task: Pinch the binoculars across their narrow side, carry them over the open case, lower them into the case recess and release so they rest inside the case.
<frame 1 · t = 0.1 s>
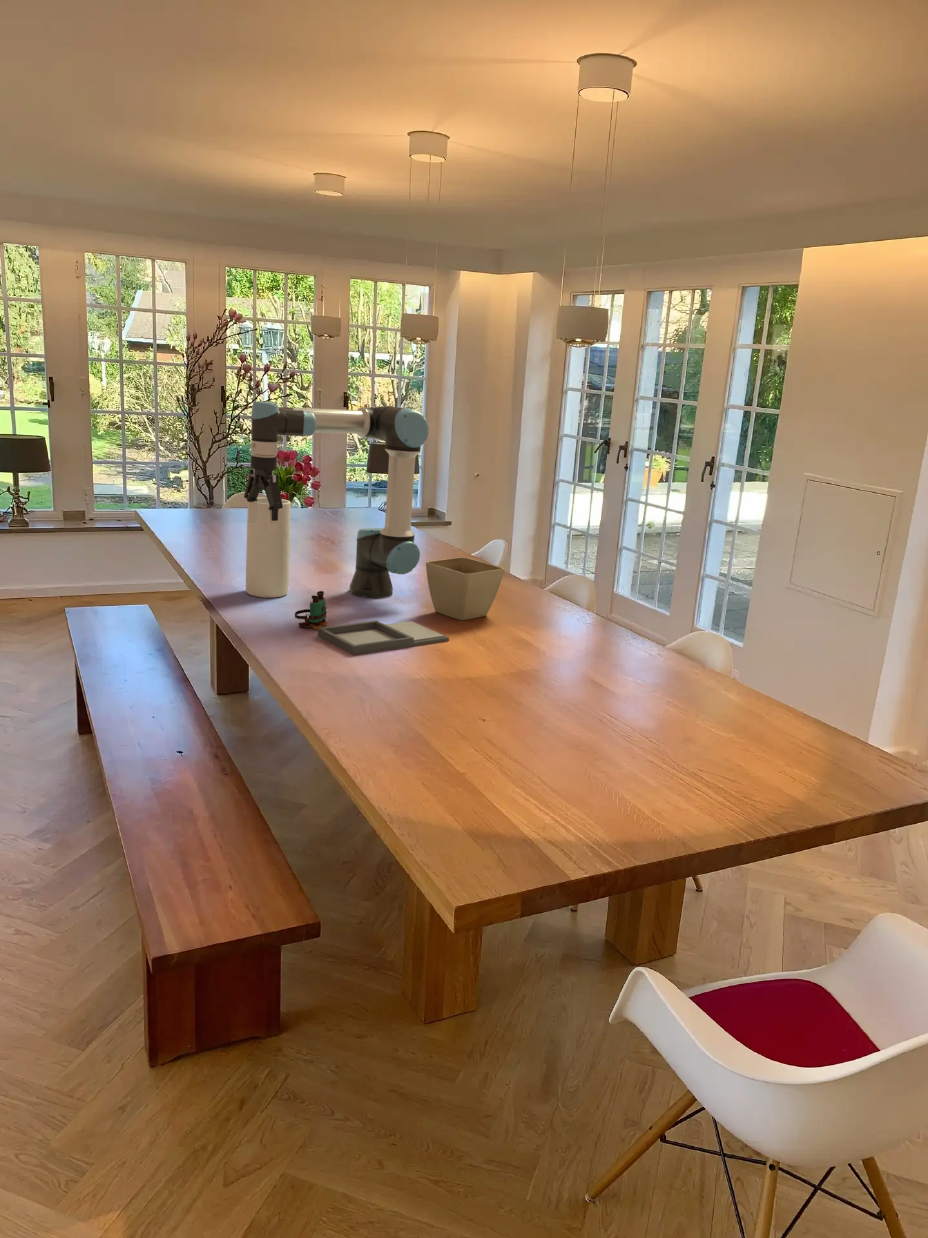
hand: (262, 527, 272), 28 cm above the table, fingers open, 13 cm apart
case: (365, 641, 264), on the table
binoculars: (310, 626, 274), on the table
flower pot: (461, 614, 302), on the table
vase: (267, 593, 307), on the table
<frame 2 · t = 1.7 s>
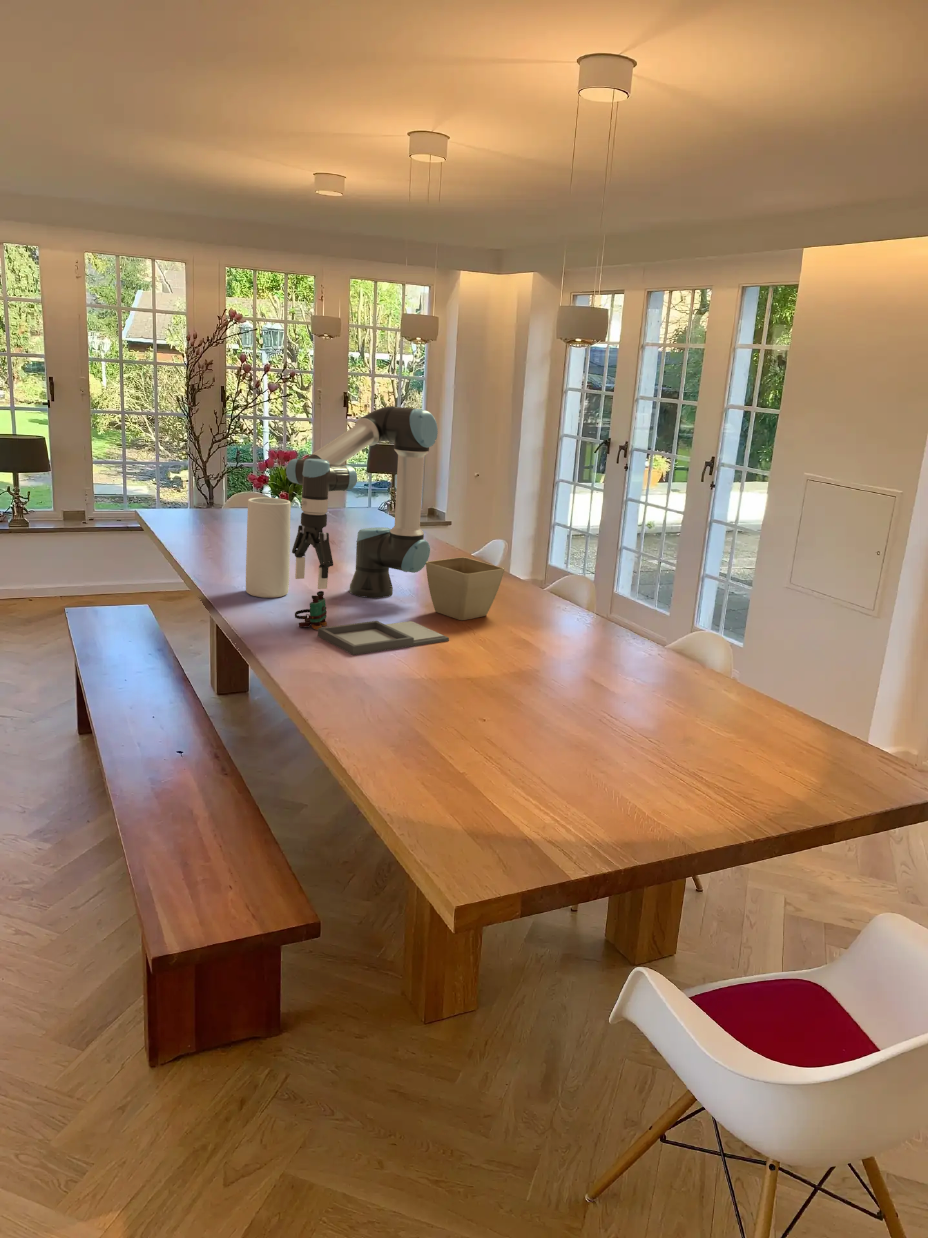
hand: (310, 583, 270), 13 cm above the table, fingers open, 13 cm apart
nothing on the table moved.
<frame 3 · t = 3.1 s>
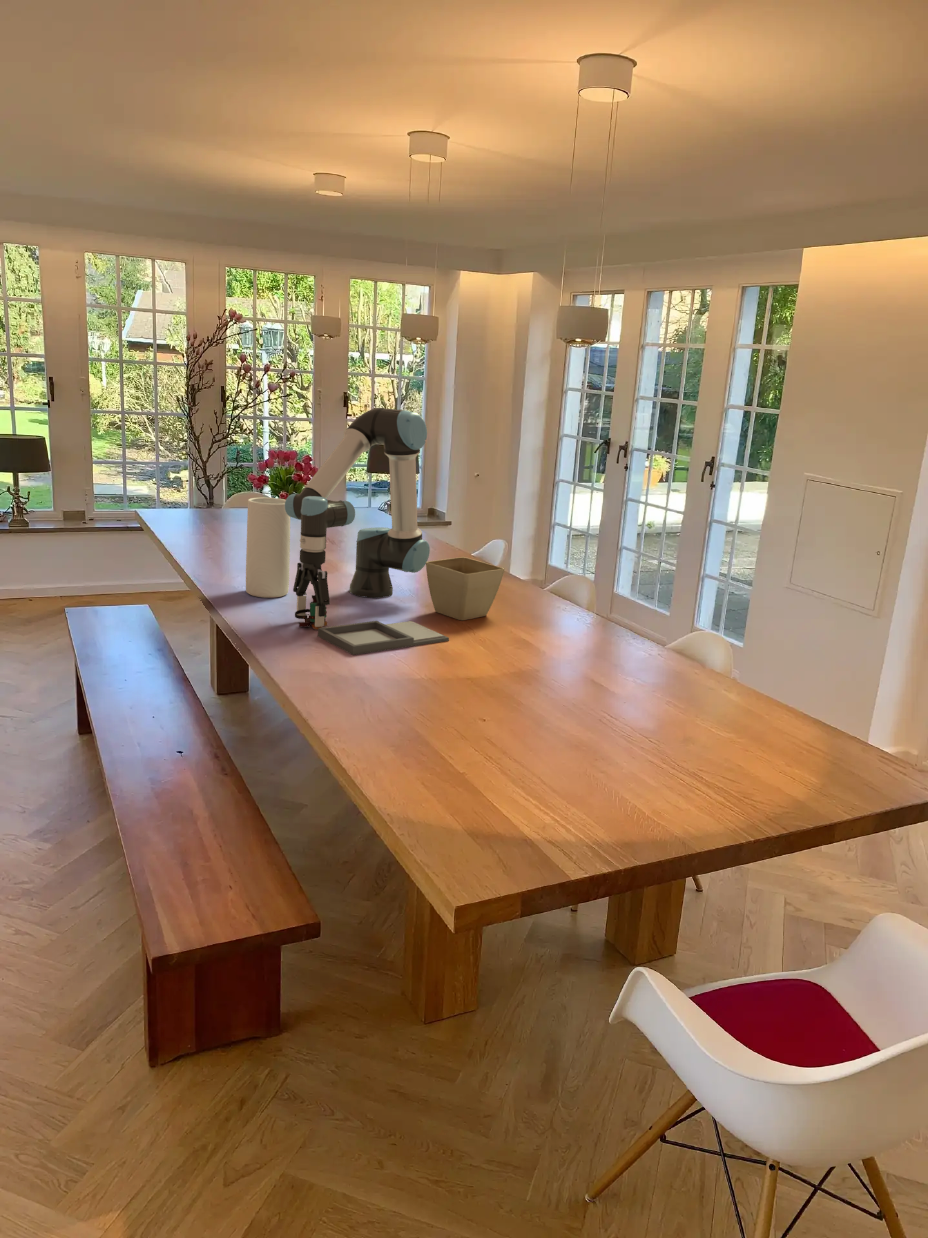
hand: (310, 621, 274), 1 cm above the table, fingers closed on binoculars, 10 cm apart
binoculars: (310, 626, 274), on the table, touching gripper
everything else where it was.
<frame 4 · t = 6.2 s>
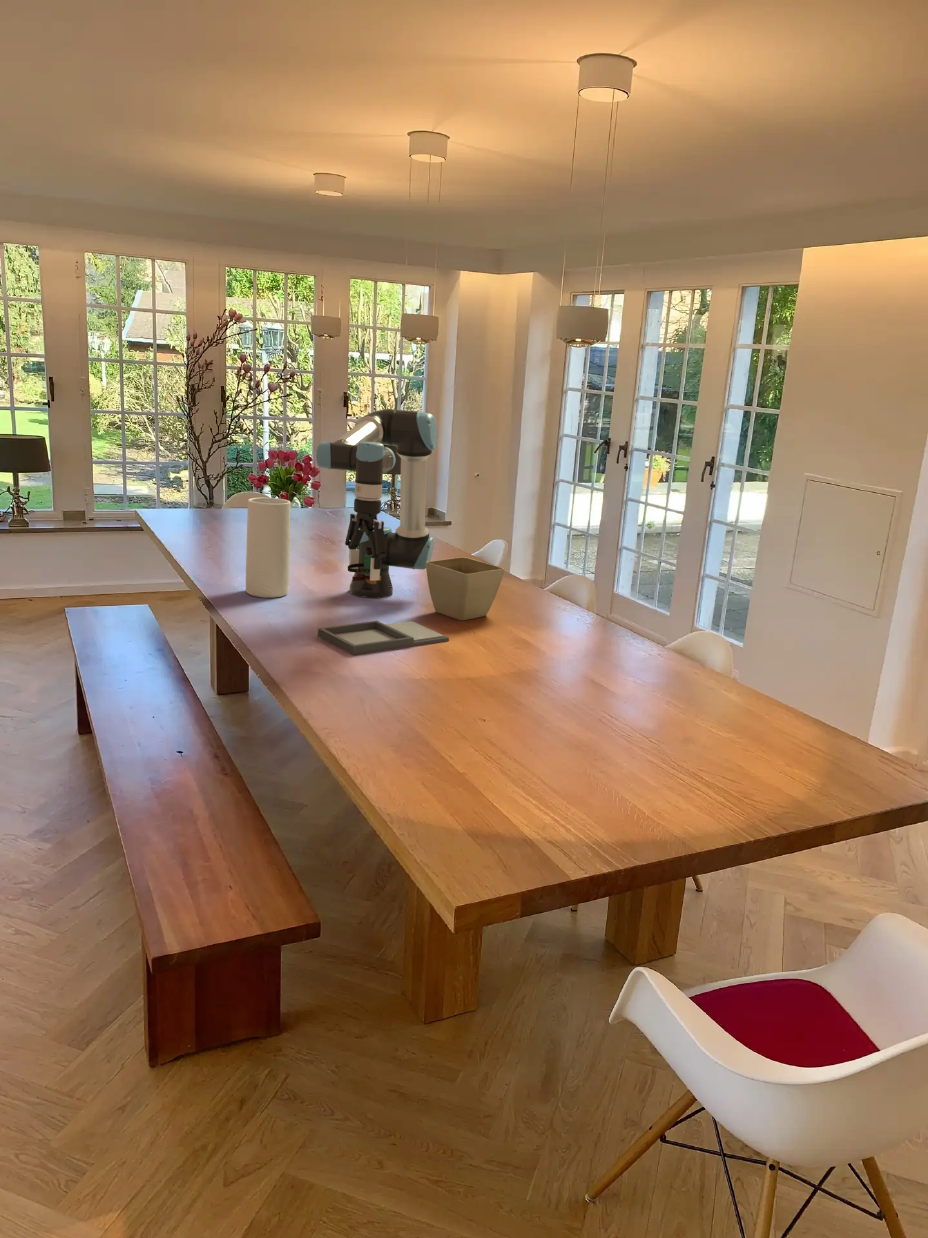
hand: (363, 575, 259), 19 cm above the table, fingers closed on binoculars, 10 cm apart
binoculars: (363, 581, 259), point 18 cm above the table, touching gripper
everything else where it was.
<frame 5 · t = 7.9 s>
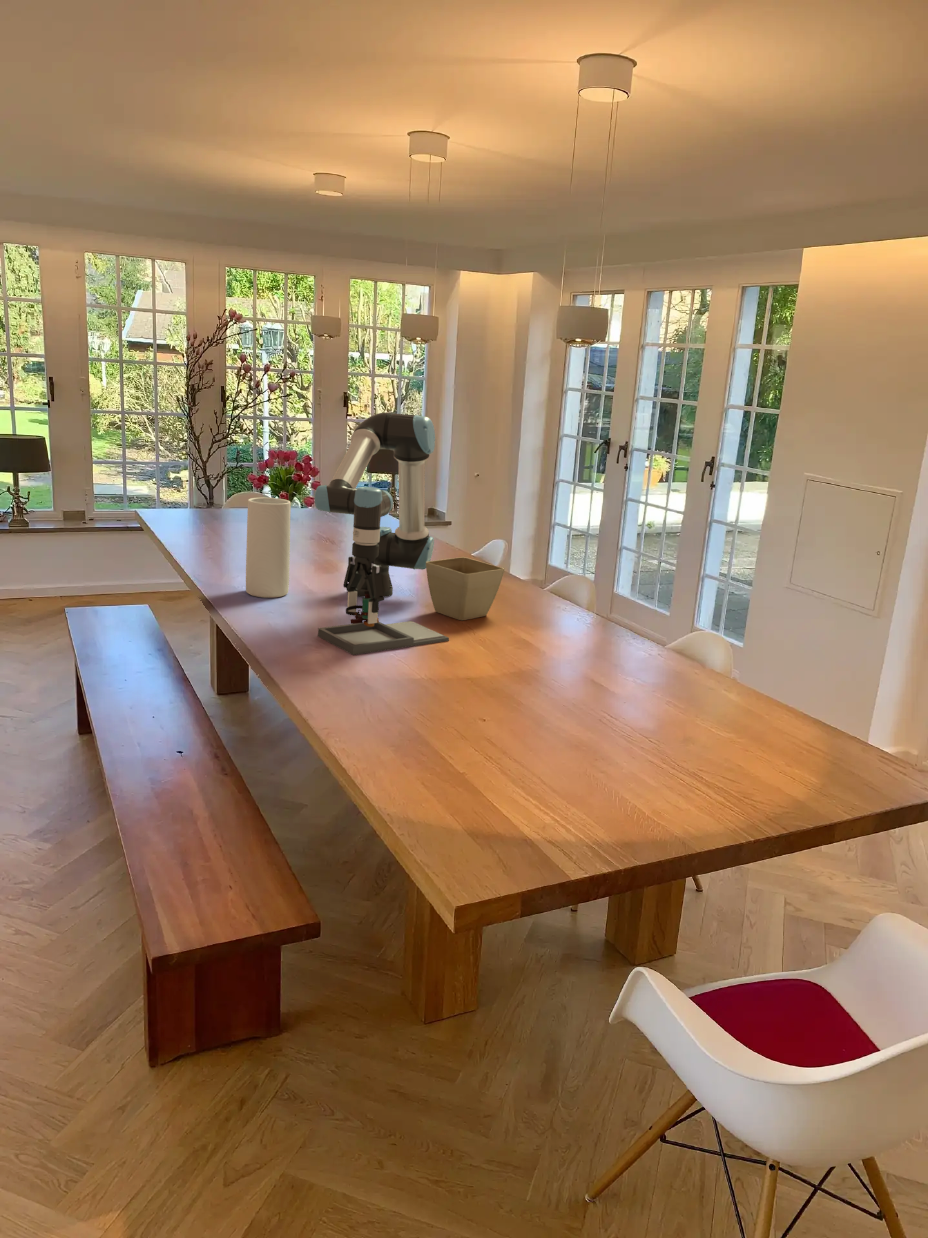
hand: (361, 618, 262), 7 cm above the table, fingers closed on binoculars, 10 cm apart
binoculars: (361, 623, 262), point 5 cm above the table, touching gripper
everything else where it was.
when the fingers open (2 cm above the table, at t = 9.3 s): binoculars stays where it is, resting on case.
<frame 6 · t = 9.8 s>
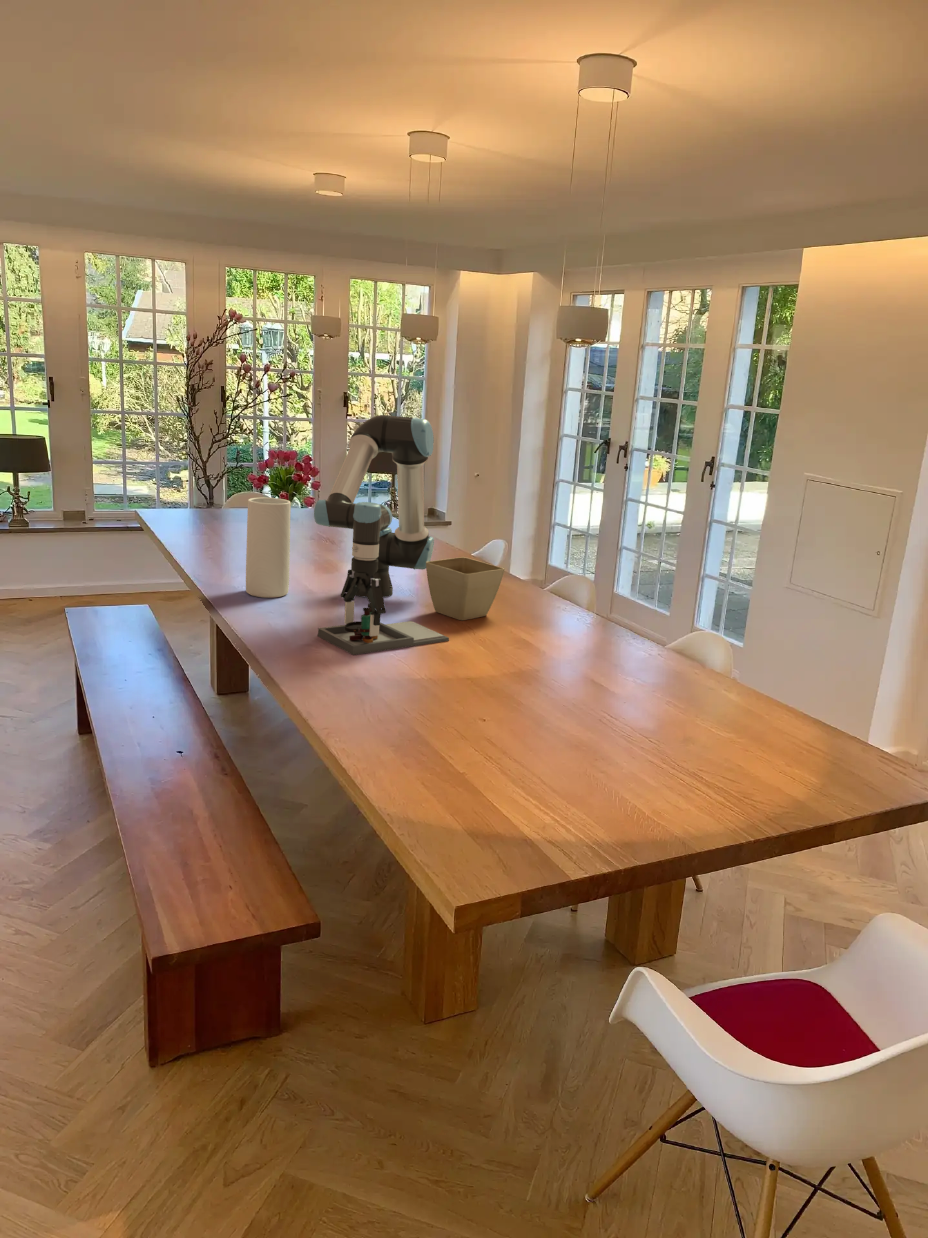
hand: (361, 629, 263), 3 cm above the table, fingers open, 13 cm apart
binoculars: (360, 640, 264), resting on case
everything else where it was.
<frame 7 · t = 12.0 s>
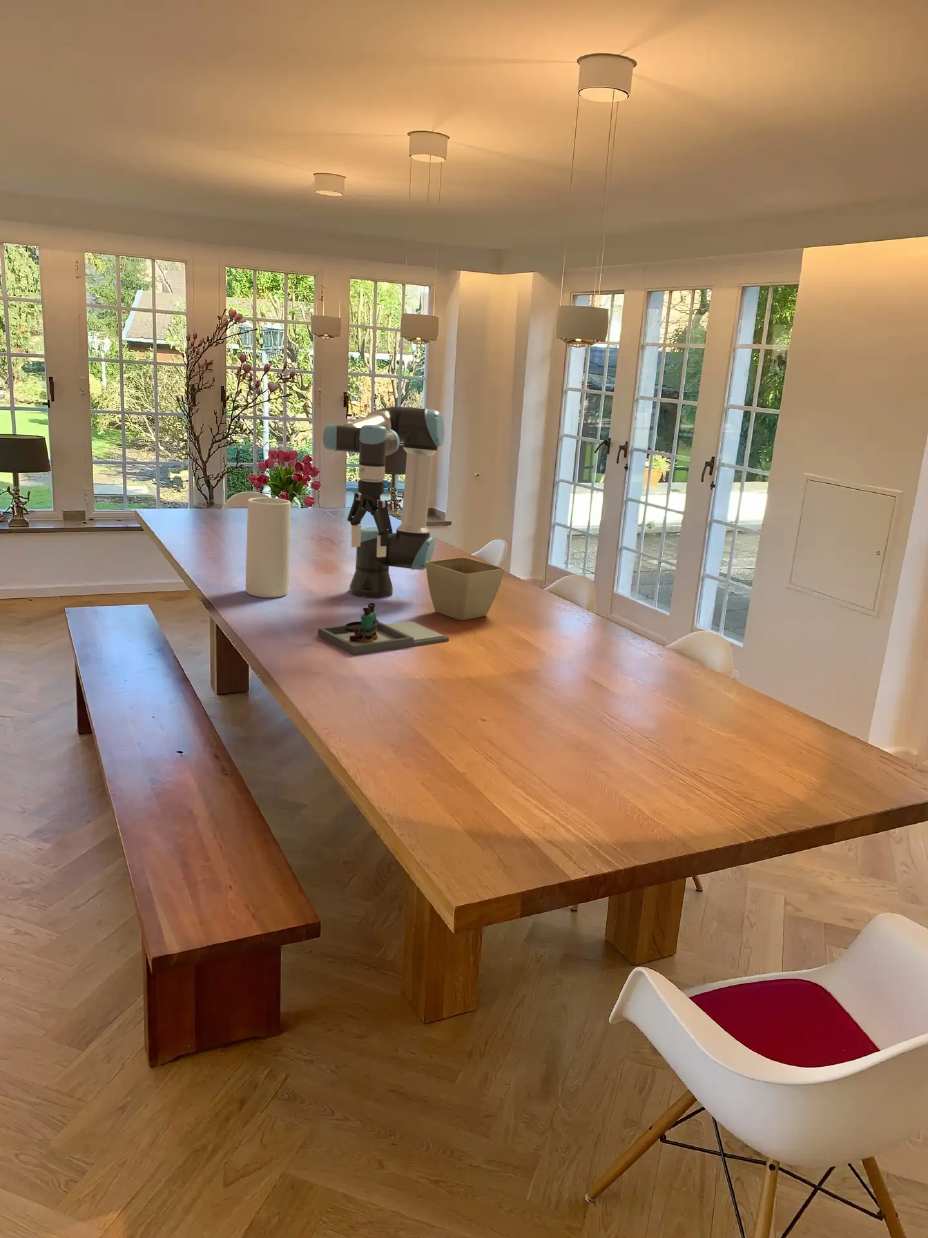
hand: (368, 551, 268), 24 cm above the table, fingers open, 13 cm apart
nothing on the table moved.
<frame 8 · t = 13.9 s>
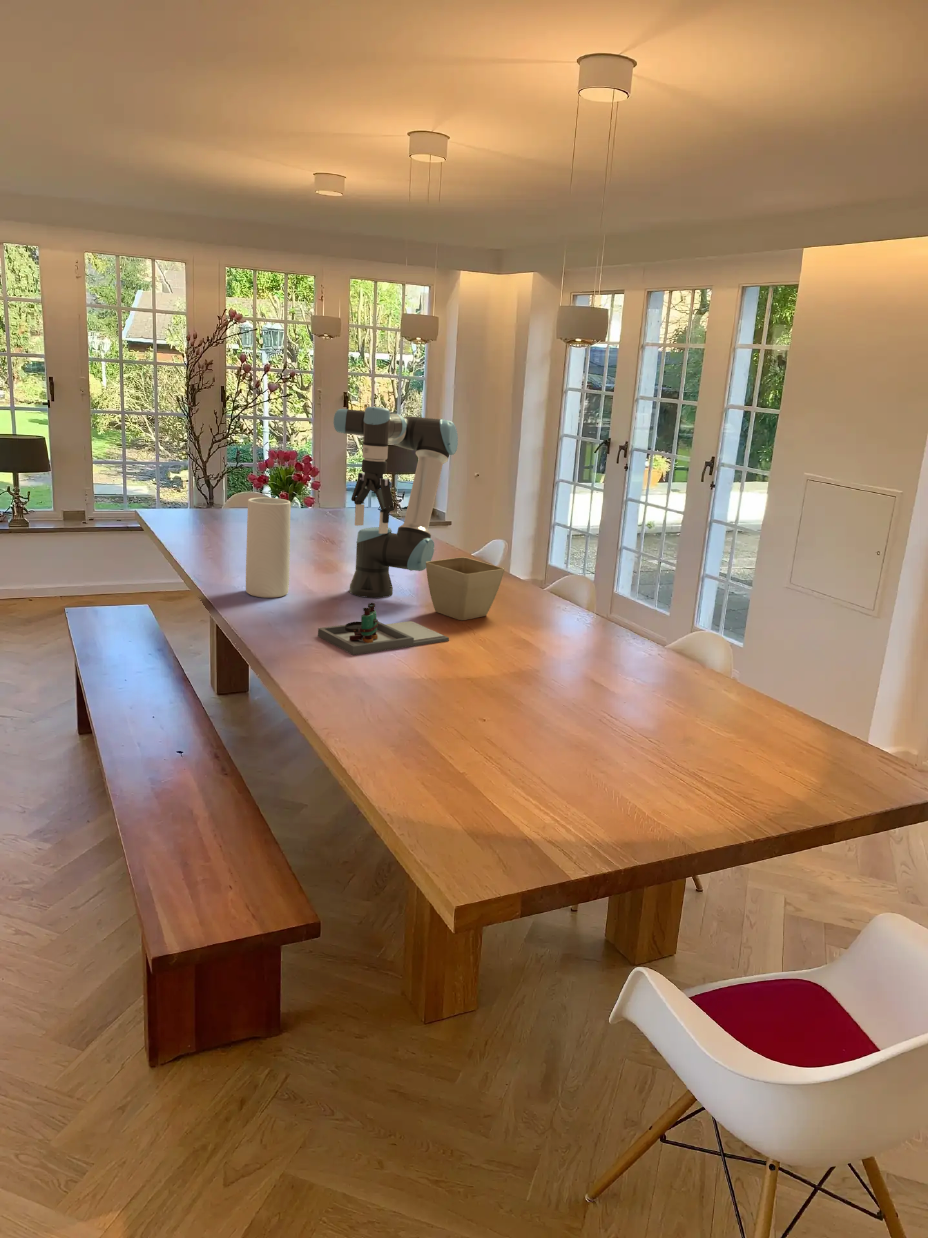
hand: (370, 529, 279), 29 cm above the table, fingers open, 13 cm apart
nothing on the table moved.
at the end: binoculars inside the target area on the case (1.5 cm from its centre), point 0.2 cm above the case's base; binoculars touching case; the gripper is holding nothing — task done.
